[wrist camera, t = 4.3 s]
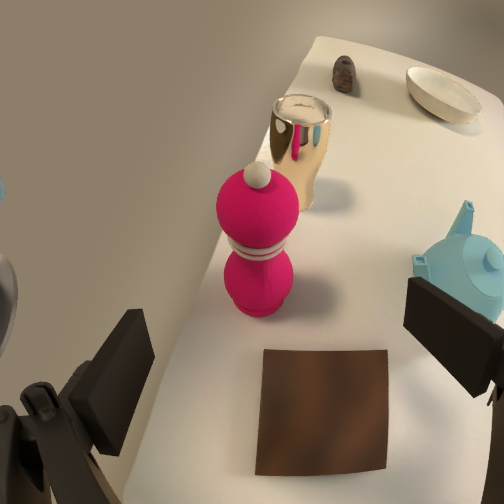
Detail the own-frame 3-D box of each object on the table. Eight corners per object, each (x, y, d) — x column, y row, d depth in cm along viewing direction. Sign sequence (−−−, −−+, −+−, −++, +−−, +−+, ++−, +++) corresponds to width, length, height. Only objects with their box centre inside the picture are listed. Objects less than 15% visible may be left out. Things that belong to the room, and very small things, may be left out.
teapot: (453, 376, 29) (509, 355, 19) (382, 290, 35) (419, 245, 26) (501, 302, 33) (545, 268, 24) (441, 232, 39) (474, 186, 30)
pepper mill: (245, 256, 38) (235, 121, 21) (298, 279, 36) (329, 150, 19) (216, 304, 35) (176, 186, 18) (272, 331, 33) (288, 229, 16)
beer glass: (305, 222, 41) (322, 133, 28) (259, 203, 42) (259, 114, 29) (323, 188, 44) (340, 103, 31) (280, 172, 45) (285, 88, 32)
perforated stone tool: (333, 69, 65) (336, 46, 59) (353, 73, 65) (357, 50, 59) (329, 93, 58) (333, 67, 52) (352, 99, 57) (357, 72, 51)
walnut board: (255, 473, 25) (255, 475, 24) (263, 351, 32) (263, 349, 31) (382, 467, 24) (386, 468, 23) (384, 351, 31) (387, 349, 30)
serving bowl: (482, 146, 51) (493, 124, 45) (406, 117, 54) (414, 92, 49) (461, 102, 61) (468, 84, 55) (395, 79, 65) (401, 58, 59)
